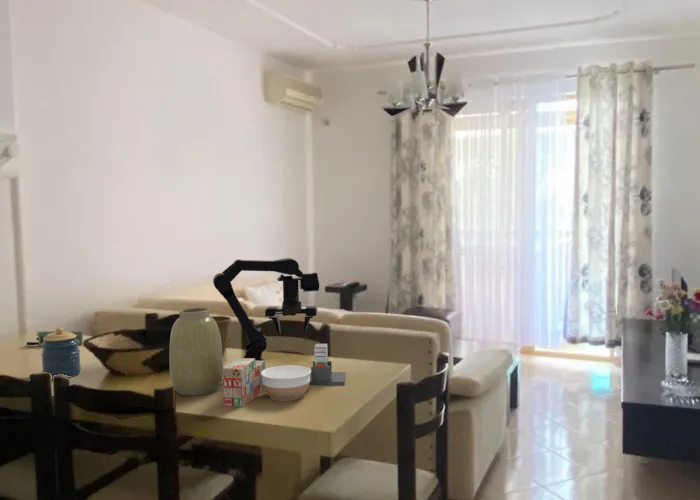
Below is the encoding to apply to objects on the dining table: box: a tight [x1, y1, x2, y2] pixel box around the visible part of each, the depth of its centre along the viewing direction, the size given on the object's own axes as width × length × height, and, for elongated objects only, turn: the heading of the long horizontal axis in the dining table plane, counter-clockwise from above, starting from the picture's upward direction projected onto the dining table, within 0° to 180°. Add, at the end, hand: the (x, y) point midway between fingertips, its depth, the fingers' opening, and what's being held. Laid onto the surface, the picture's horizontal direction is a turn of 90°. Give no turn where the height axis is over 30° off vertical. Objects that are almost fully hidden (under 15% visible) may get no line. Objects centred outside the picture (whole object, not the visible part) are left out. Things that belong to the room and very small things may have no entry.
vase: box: [168, 307, 224, 396], centre depth 215 cm, size 17×17×27 cm
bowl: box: [261, 364, 311, 402], centre depth 208 cm, size 16×16×8 cm
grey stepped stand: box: [309, 360, 347, 386], centre depth 224 cm, size 16×12×7 cm
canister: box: [40, 327, 82, 377], centre depth 239 cm, size 13×13×18 cm
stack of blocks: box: [222, 357, 266, 408], centre depth 208 cm, size 21×6×12 cm, turn 168°
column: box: [314, 343, 329, 366], centre depth 222 cm, size 4×5×8 cm
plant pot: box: [210, 315, 232, 357], centre depth 259 cm, size 15×15×16 cm
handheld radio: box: [26, 330, 84, 347], centre depth 289 cm, size 7×3×25 cm
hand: (292, 334), depth 239 cm, fingers open, 9 cm apart
